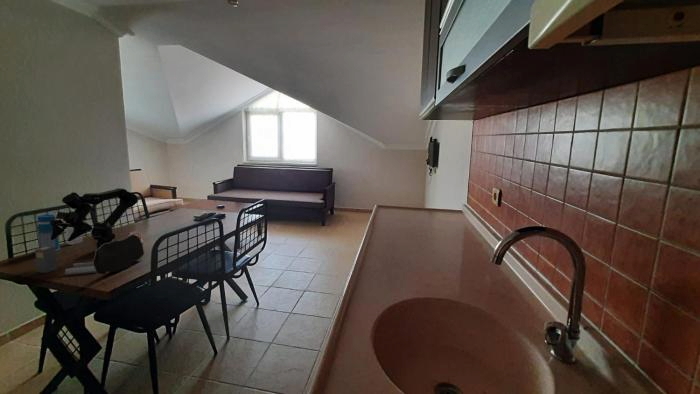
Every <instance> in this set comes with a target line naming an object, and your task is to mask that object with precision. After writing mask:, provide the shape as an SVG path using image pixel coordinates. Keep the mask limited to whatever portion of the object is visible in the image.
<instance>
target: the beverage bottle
mask: <svg viewBox="0 0 700 394" xmlns="http://www.w3.org/2000/svg"><path fill="white" fill-rule="evenodd" d="M54 219H55V220H56V216H55V214H53V213H52V214H49V213H48V214H40V215H38V216H37V222H38V225H37V227H36V230H37V232H36V235H37V239H38V249H39V248H42V247H46V246H49V247H55V249H56V252H57V251H59V250H60V249H61V246H60V237H59V236H60V235H59V236H58V237H57V238H55V239H54V240H51V236H52V232H53V227H52V226H51V224H49V223H50V222H51V220H54Z"/></svg>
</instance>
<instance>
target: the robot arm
mask: <svg viewBox="0 0 700 394" xmlns="http://www.w3.org/2000/svg"><path fill="white" fill-rule="evenodd" d="M113 198H118V199H119V203H118V205H117V206H116V207H115V209H113V211H112V212H111V213H110V214H109V215H108V216H107V218H106V219H105V220H104V221H103V222H97V223H95V225H94V226H92V225H91V224H90V223H88V222H86V221H87V220H88V218H87V217H88V215H89V214H90V213H91V212H93V213H94V212H96V209H95V206H96V205H99V204H101V203H103V202H104V201H105V200H110V199H113ZM138 202H139V198H138V196H137V194H134V193H132V192H130V191H128V190H127V189H125V188H115V189H110V190H106V191H102V192H95V193H93V192H91V193H88V192H87V193H84V194H83V195H82V196H80V195H79V194H78V193H77V192H73V191H72V192H71V193H70V194H66V195H65V196H63V197H62V203H63V204H65V205H66V206H68V207H69V208H70V209H73V210H74V211H69V212H65V211H58V212H57V214H56V216H55V219H54V220H51V222H50V223H49V224H51V226H52V227H53V232H52V236H51V240H54V239H55V238H57V237H58V236H60V235H61V234H63V233H64V232H66V230H65V229H66V228H73V229H74V231H73V232H72V234H71V235H70V237H69V239H68V241H69V242H70V241H72V240H74V239H75V238H77V237H79V236H80V237H82V236H83V235H85V234H88V233H91V237H93V239H94V240H95V241H96V250H97V249H98V248H100V247H101V245H103V244H104V243H110V242H112V240H113V241H114V240H115V239H116V234H114V233H113V230H114V229H113V227H114V226H115V224H116V223H117V222H118V220H119V219H120V218H121V217H122V216H123V215H124V214H125V213H126V211H127V210H128V209H130V208H132V207H134V206H135V205H136V204H137V203H138ZM93 205H95V206H93Z"/></svg>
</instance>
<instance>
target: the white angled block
mask: <svg viewBox="0 0 700 394" xmlns="http://www.w3.org/2000/svg"><path fill="white" fill-rule="evenodd" d="M73 231H74V228H73V229H72V228H71V227H67V228H66V230H65V232H66V241H67V245H71V246H72V245H76V244H77V245H78V244H81V243H83V242H84V240H83V236H79V237H77V238H75V239H74V240H72V241H70V242H69V241H68V239H69V237H70V235H71V234H72V232H73Z"/></svg>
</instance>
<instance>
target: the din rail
mask: <svg viewBox="0 0 700 394" xmlns="http://www.w3.org/2000/svg"><path fill="white" fill-rule="evenodd" d="M72 266H73V267H71V268H65V269H64V271H65V272H64V273H65V276H74V275H75V276H76V275H82V274H92V273H93V274H95V273H96V271H95V268H94V265H93V261H92V262H79V263H73V264H72ZM96 274H97V273H96Z"/></svg>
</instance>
